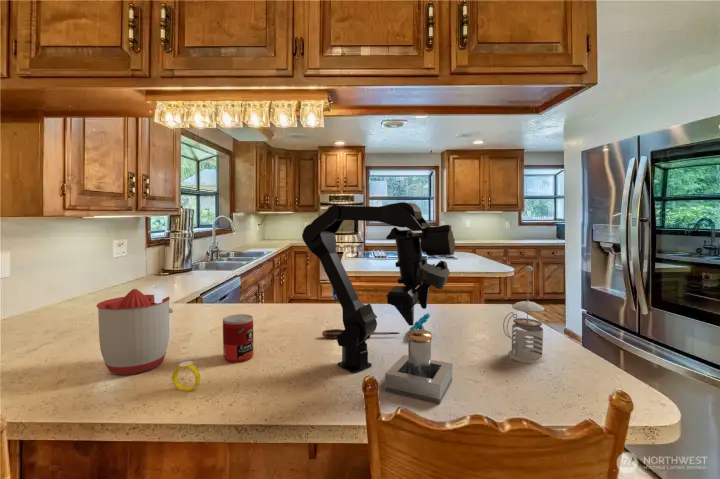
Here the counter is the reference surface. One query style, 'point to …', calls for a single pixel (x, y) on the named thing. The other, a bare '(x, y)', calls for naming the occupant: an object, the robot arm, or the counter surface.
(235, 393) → the counter surface
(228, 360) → the canned food
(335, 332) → the screwdriver
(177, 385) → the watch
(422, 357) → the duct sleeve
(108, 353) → the citrus juicer
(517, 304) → the french press
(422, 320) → the teal bumpy piece
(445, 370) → the collar
